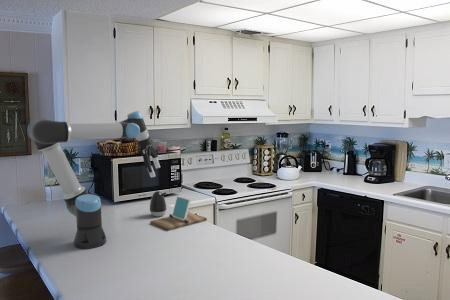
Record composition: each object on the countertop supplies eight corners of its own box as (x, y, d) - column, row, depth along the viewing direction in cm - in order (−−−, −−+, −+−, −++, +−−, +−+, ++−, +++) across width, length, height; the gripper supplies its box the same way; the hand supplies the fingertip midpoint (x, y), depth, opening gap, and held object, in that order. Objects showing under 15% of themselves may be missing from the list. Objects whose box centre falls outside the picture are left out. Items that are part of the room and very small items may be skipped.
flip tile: (185, 220, 224) (184, 220, 224) (173, 216, 233) (171, 215, 232) (191, 199, 226) (189, 199, 225) (178, 196, 235) (177, 196, 234)
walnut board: (168, 230, 213) (167, 225, 213) (150, 223, 226) (150, 218, 226) (206, 220, 231) (206, 215, 231) (188, 214, 244) (188, 209, 244)
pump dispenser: (165, 217, 238) (164, 193, 236) (148, 217, 238) (147, 193, 236) (168, 213, 248) (167, 189, 246) (151, 213, 248) (150, 189, 246)
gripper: (144, 143, 209) (157, 179, 215) (154, 130, 232) (165, 162, 239) (130, 147, 210) (144, 182, 216) (142, 133, 233) (154, 165, 240)
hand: (155, 172), depth 228 cm, fingers open, 13 cm apart
